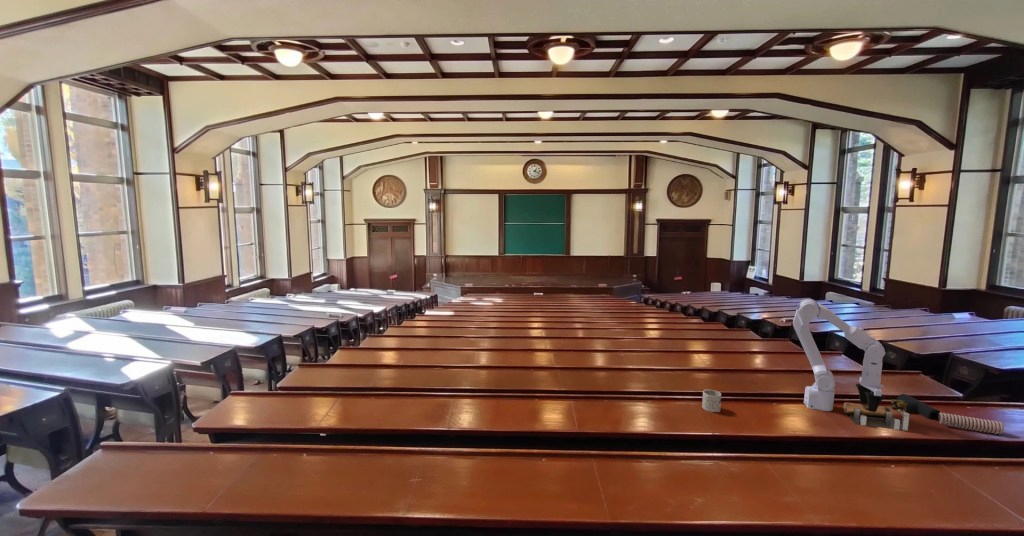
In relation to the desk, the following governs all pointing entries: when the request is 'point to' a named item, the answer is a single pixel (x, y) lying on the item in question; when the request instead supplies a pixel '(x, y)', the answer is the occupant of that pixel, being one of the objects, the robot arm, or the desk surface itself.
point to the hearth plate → (874, 421)
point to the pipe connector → (914, 406)
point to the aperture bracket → (904, 420)
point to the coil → (971, 423)
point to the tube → (866, 410)
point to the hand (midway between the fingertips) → (868, 407)
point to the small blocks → (888, 418)
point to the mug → (711, 400)
